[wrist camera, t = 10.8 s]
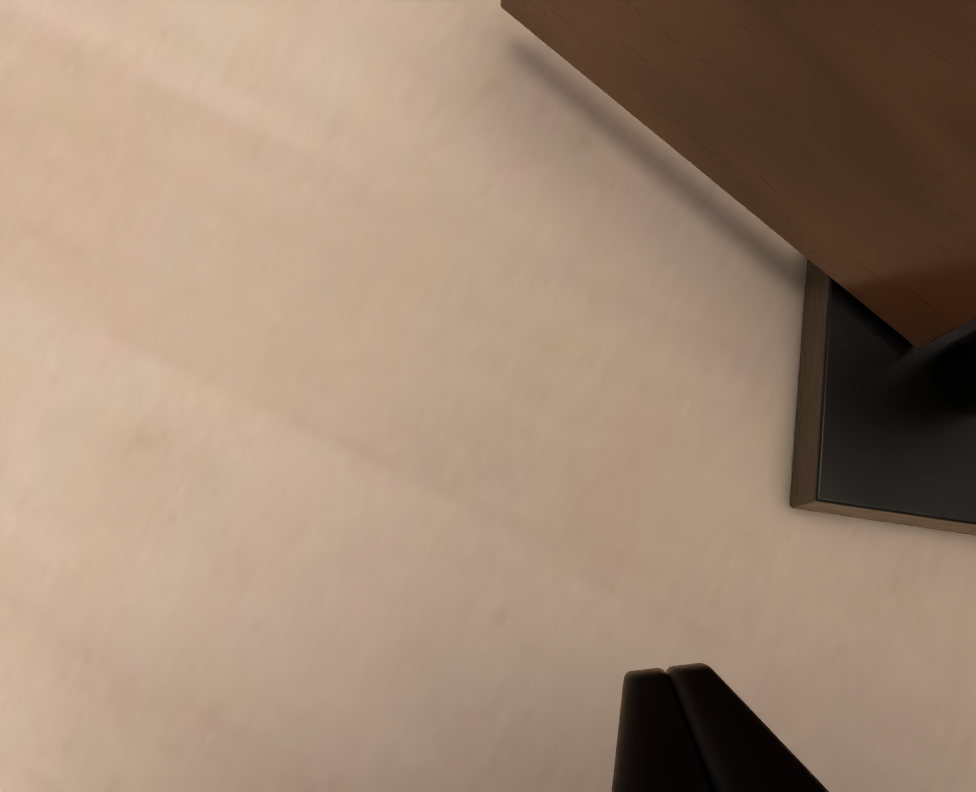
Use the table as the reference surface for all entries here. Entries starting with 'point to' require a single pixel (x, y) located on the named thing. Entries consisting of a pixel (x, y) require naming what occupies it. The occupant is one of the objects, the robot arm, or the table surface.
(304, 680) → the table surface
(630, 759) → the robot arm
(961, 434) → the door post
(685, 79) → the door
